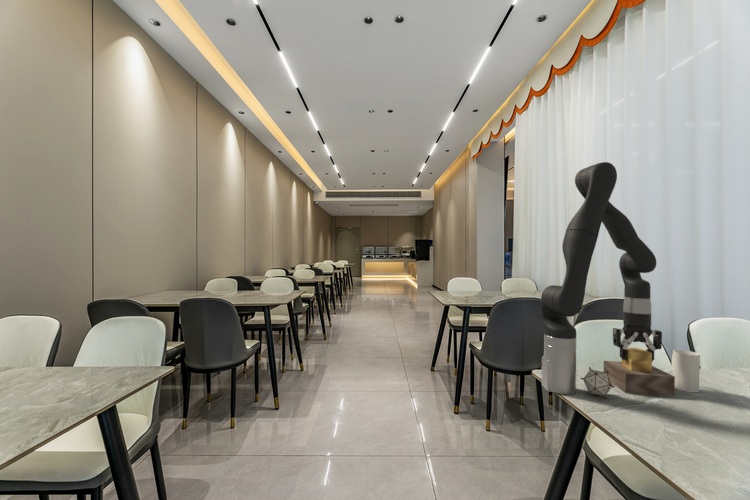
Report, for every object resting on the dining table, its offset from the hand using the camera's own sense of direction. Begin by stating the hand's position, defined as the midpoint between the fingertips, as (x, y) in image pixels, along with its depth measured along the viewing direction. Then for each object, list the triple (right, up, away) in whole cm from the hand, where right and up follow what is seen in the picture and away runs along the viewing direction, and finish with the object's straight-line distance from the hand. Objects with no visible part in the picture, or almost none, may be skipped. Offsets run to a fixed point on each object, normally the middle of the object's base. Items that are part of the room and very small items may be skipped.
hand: (636, 360), depth 118 cm
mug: (+15, -9, 0) cm, 17 cm away
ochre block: (0, -3, 0) cm, 3 cm away
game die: (-19, -8, -9) cm, 22 cm away
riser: (0, -9, 0) cm, 9 cm away
